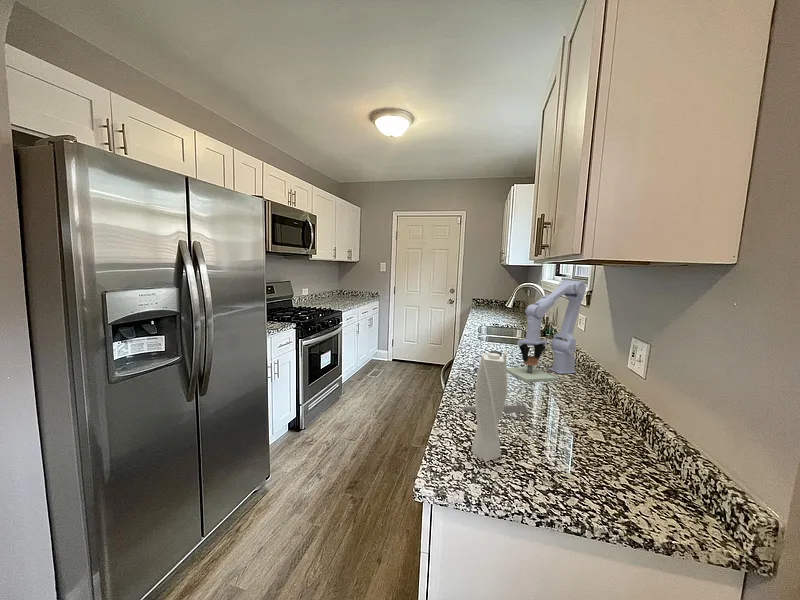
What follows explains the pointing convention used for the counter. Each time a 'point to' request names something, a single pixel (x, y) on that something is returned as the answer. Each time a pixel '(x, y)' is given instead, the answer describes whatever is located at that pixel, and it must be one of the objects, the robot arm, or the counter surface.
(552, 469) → the counter surface
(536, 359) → the collar
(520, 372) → the post board
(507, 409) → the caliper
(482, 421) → the skyscraper
